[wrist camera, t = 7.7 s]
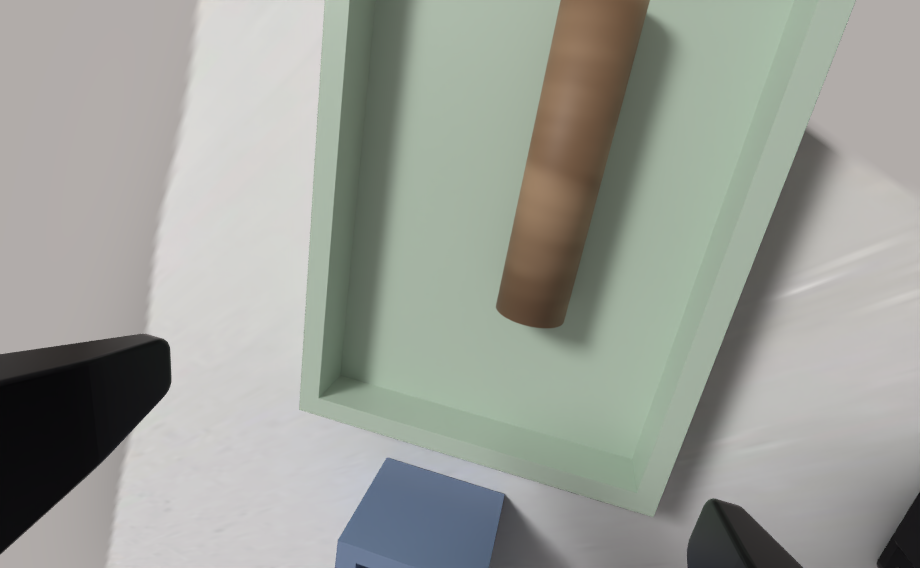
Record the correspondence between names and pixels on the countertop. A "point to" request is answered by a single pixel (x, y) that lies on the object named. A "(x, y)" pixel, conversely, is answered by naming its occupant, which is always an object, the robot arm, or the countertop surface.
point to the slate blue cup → (420, 522)
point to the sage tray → (492, 216)
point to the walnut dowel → (568, 155)
